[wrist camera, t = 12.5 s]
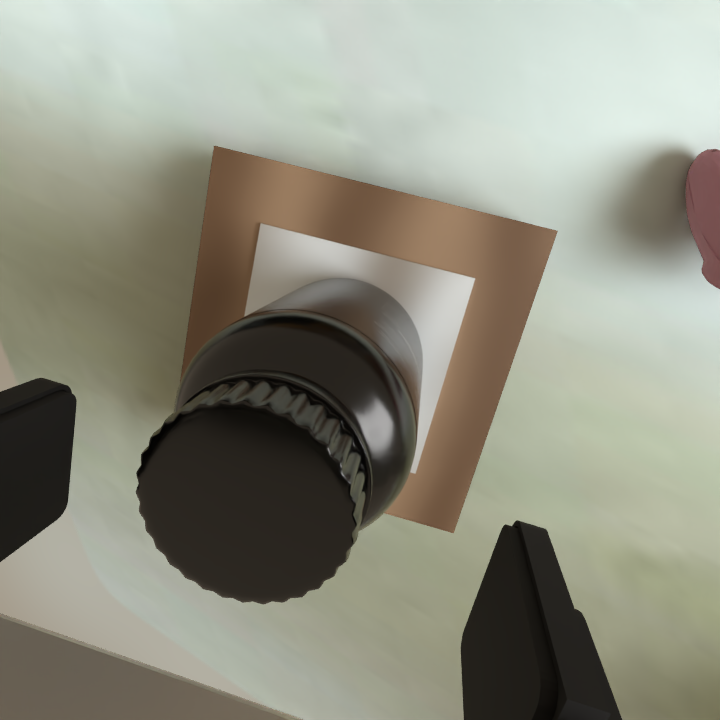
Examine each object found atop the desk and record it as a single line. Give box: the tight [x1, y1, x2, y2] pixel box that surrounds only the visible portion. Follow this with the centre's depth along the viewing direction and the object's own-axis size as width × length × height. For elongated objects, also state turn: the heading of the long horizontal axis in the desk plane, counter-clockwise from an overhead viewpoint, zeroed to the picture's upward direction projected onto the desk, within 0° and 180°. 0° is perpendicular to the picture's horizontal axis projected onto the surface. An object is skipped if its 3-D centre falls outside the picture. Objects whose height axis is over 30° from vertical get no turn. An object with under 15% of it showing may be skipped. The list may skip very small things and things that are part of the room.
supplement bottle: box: [136, 278, 423, 604], centre depth 16 cm, size 7×7×12 cm
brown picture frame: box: [180, 146, 557, 533], centre depth 24 cm, size 14×14×4 cm
